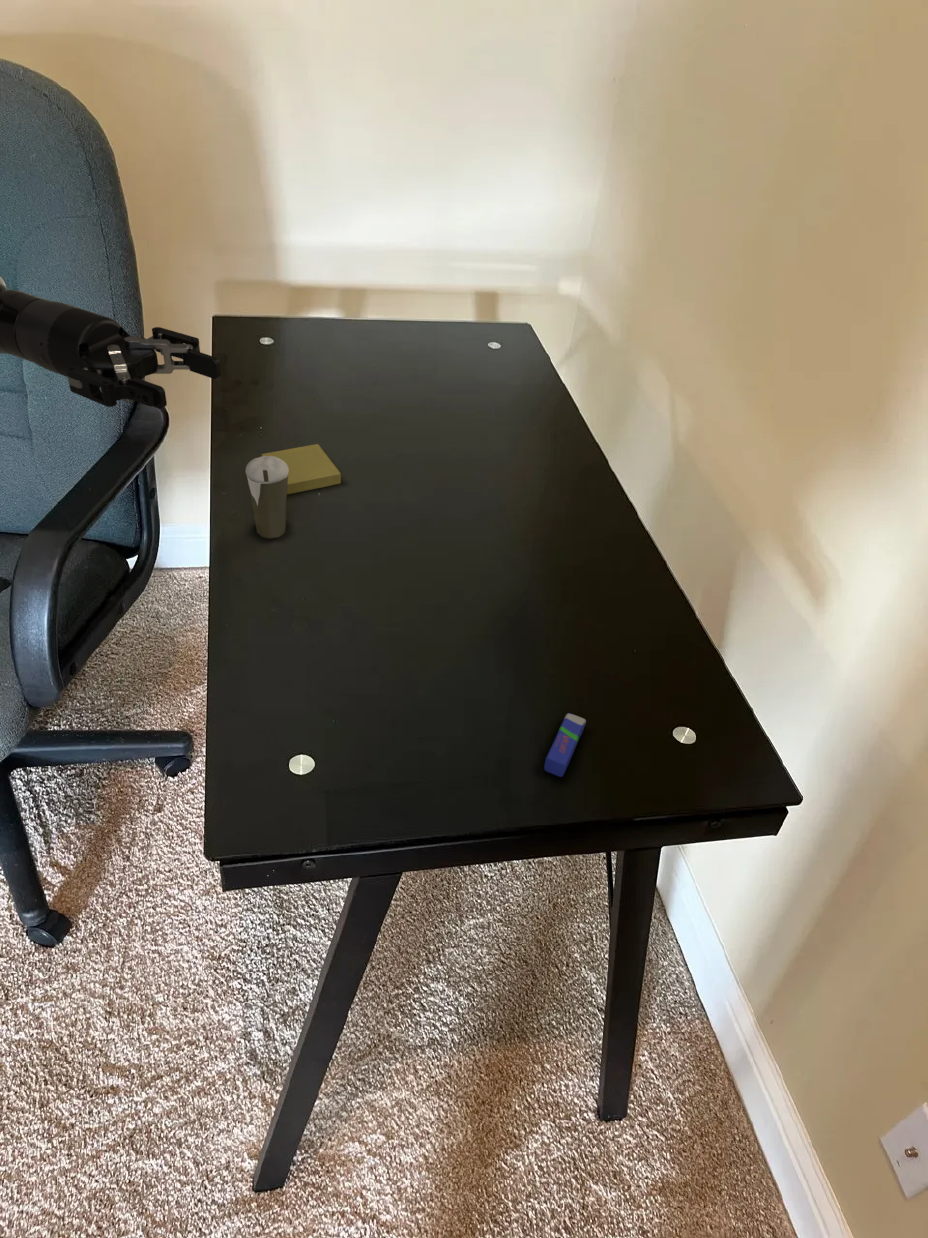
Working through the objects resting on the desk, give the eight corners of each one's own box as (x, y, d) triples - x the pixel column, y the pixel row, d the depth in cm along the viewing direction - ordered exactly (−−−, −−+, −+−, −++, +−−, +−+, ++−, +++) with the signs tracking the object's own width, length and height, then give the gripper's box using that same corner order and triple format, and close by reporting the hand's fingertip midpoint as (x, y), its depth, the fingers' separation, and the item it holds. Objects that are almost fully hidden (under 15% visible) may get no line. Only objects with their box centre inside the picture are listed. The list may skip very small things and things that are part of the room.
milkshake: (249, 546, 92) (242, 469, 85) (252, 518, 96) (245, 443, 89) (290, 546, 93) (287, 470, 86) (292, 519, 97) (288, 443, 90)
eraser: (583, 733, 77) (587, 719, 75) (562, 779, 72) (566, 765, 71) (563, 725, 77) (567, 711, 76) (541, 771, 73) (545, 756, 71)
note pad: (282, 495, 100) (282, 485, 99) (261, 464, 105) (261, 453, 104) (341, 483, 103) (341, 473, 102) (318, 453, 108) (318, 443, 107)
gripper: (11, 329, 83) (137, 373, 79) (114, 289, 93) (232, 326, 89) (29, 398, 88) (149, 443, 84) (125, 353, 98) (237, 391, 94)
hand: (192, 383), depth 86 cm, fingers open, 8 cm apart
